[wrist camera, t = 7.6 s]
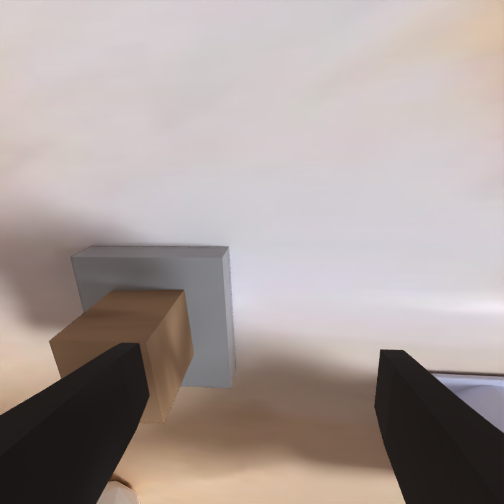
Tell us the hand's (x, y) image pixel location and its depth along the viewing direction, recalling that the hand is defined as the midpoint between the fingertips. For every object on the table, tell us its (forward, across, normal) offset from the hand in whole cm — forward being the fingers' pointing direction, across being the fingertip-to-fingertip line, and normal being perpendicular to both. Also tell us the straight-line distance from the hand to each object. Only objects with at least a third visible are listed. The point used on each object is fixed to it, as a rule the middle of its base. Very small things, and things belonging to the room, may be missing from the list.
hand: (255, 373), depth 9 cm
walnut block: (+8, +7, +3) cm, 11 cm away
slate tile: (+10, +7, +4) cm, 13 cm away
